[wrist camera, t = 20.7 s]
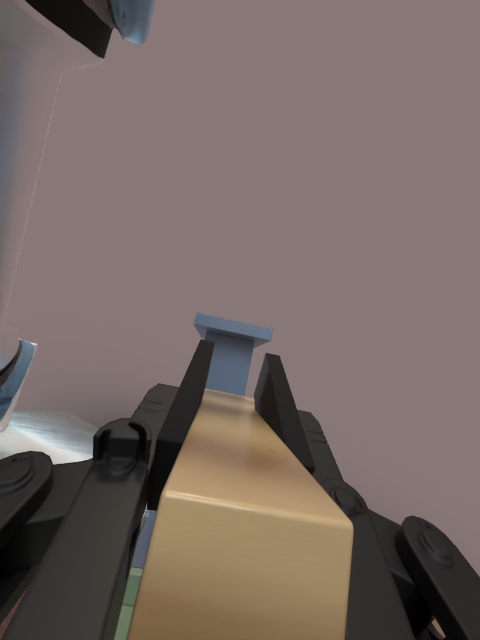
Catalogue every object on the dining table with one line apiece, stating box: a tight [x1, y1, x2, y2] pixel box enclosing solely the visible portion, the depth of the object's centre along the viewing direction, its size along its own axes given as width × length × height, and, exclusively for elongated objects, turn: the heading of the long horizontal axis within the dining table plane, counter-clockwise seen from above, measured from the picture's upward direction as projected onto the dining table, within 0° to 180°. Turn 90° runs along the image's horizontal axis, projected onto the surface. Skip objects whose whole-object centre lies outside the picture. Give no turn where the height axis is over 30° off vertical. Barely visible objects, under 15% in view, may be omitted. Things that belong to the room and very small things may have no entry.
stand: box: [131, 313, 273, 569], centre depth 33 cm, size 15×12×30 cm
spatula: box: [126, 388, 354, 640], centre depth 14 cm, size 22×7×2 cm, turn 6°
